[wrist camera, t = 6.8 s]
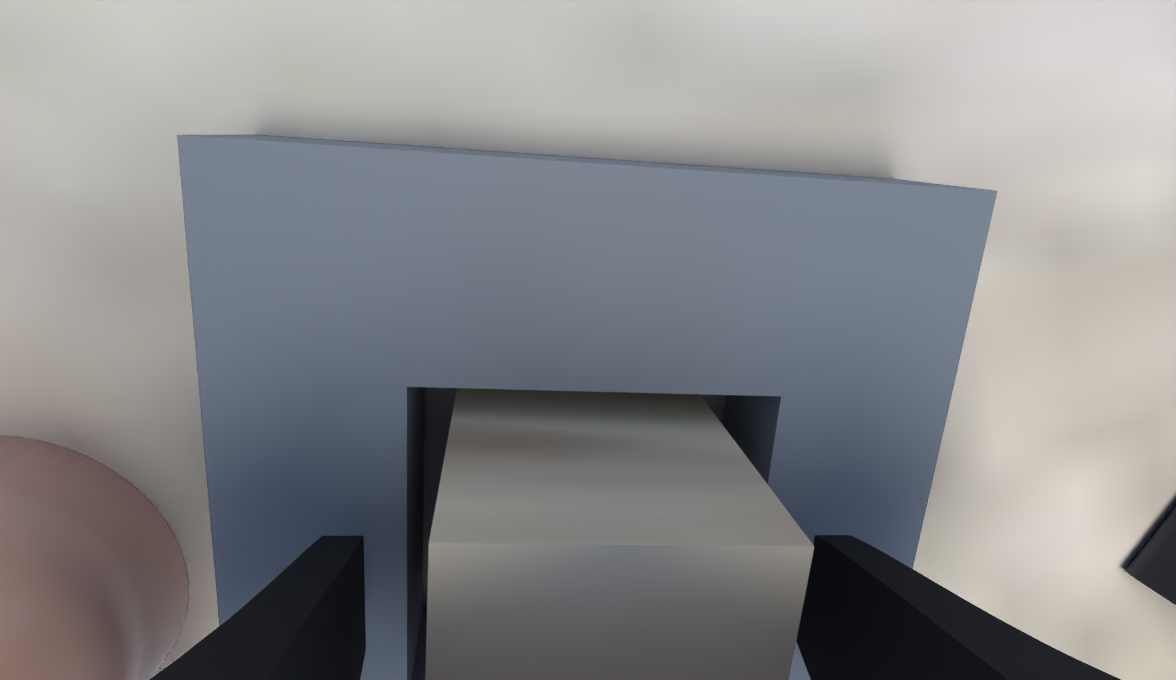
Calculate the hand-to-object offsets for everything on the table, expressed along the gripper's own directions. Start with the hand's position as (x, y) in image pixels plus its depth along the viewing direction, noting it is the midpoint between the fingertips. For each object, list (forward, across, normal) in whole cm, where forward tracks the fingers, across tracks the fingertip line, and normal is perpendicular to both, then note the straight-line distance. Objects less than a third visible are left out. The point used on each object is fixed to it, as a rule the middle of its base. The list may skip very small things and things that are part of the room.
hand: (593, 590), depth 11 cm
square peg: (+3, 0, 0) cm, 4 cm away
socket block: (+4, 0, 0) cm, 4 cm away
